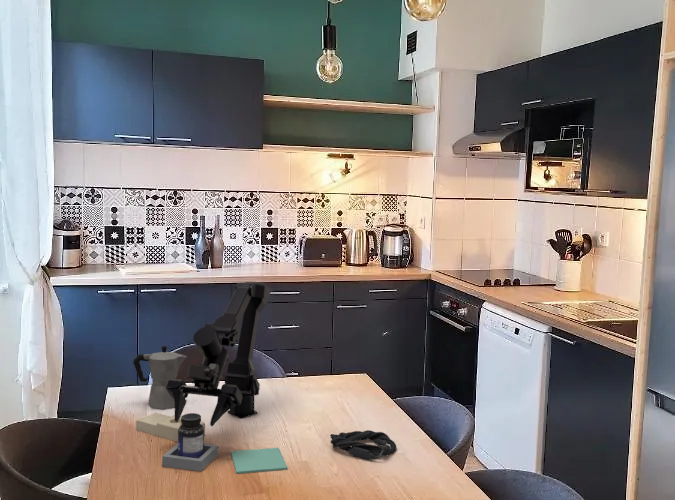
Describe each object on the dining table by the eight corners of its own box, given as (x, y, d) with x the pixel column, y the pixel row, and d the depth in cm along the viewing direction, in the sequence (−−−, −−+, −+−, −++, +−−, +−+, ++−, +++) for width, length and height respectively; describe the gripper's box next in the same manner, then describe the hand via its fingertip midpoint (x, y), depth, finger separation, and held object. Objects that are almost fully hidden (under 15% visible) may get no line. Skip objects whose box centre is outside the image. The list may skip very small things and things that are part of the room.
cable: (319, 451, 168) (319, 434, 168) (344, 433, 180) (345, 418, 180) (380, 466, 160) (381, 449, 160) (402, 446, 172) (403, 430, 172)
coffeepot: (186, 398, 204) (187, 341, 202) (186, 409, 195) (186, 349, 193) (134, 400, 201) (134, 342, 199) (132, 411, 192) (131, 350, 190)
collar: (181, 450, 165) (181, 440, 165) (218, 454, 163) (218, 445, 163) (162, 466, 156) (162, 456, 155) (201, 471, 154) (201, 461, 153)
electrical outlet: (155, 409, 184) (205, 422, 175) (155, 423, 184) (205, 436, 175) (136, 416, 178) (187, 430, 169) (136, 431, 178) (186, 445, 169)
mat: (231, 453, 164) (231, 451, 164) (278, 449, 168) (278, 447, 168) (236, 473, 153) (236, 471, 153) (287, 469, 156) (287, 467, 156)
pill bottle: (179, 455, 162) (180, 411, 161) (205, 455, 163) (205, 411, 162) (176, 466, 156) (176, 421, 155) (202, 465, 157) (202, 420, 156)
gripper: (168, 347, 165) (146, 403, 156) (238, 353, 161) (220, 412, 152) (182, 369, 174) (162, 424, 164) (249, 376, 170) (232, 433, 160)
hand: (193, 423), depth 160 cm, fingers open, 9 cm apart
